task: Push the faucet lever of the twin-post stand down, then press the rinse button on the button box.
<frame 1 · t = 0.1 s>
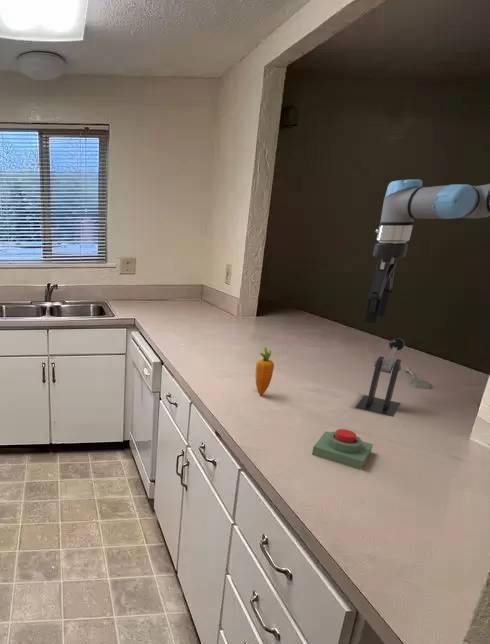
hand: (374, 319, 125), 24 cm above the countertop, tool pointing down, fingers open, 13 cm apart
twin-post stand: (376, 409, 123), on the countertop
button box: (341, 453, 100), on the countertop
faucet lever: (392, 354, 121), point 15 cm above the countertop, hinge at 25.0°
rinse button: (345, 436, 99), point 4 cm above the countertop, slide at 0.1 cm
carrot: (260, 395, 134), on the countertop
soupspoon: (413, 382, 143), on the countertop
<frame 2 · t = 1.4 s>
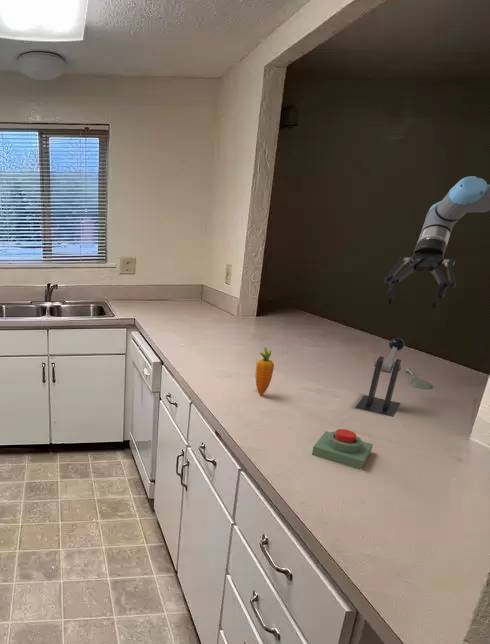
hand: (411, 303, 129), 27 cm above the countertop, tool tilted 45°, fingers open, 10 cm apart
nothing on the countertop moved.
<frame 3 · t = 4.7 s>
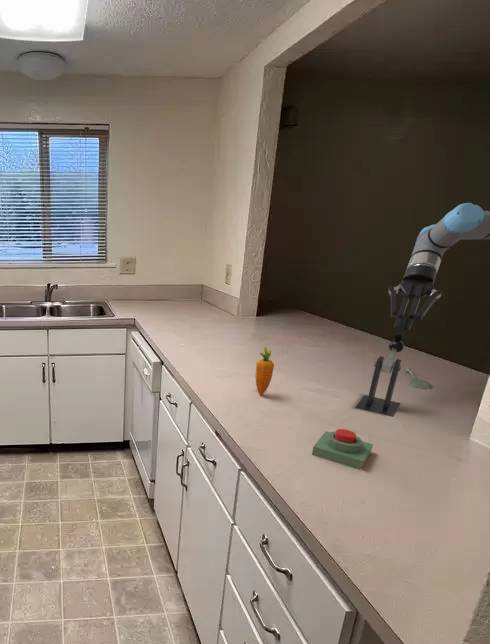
hand: (398, 337, 123), 19 cm above the countertop, tool tilted 45°, fingers closed
faucet lever: (392, 355, 121), point 15 cm above the countertop, hinge at 21.0°, touching gripper
everything else where it was.
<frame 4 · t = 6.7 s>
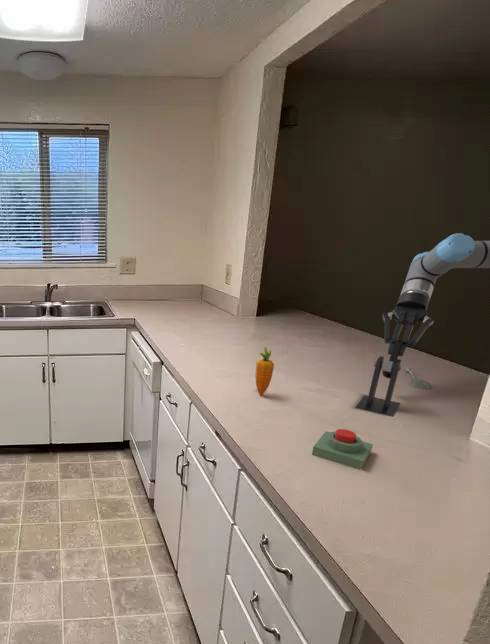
hand: (391, 363, 126), 11 cm above the countertop, tool tilted 45°, fingers closed
faucet lever: (388, 369, 123), point 11 cm above the countertop, hinge at -25.1°
everything else where it was.
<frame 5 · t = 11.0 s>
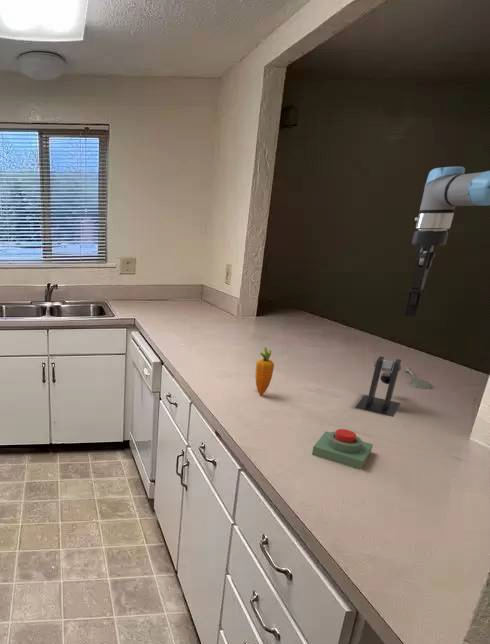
hand: (410, 315, 126), 24 cm above the countertop, tool pointing down, fingers closed
faucet lever: (387, 372, 123), point 10 cm above the countertop, hinge at -35.2°
everything else where it was.
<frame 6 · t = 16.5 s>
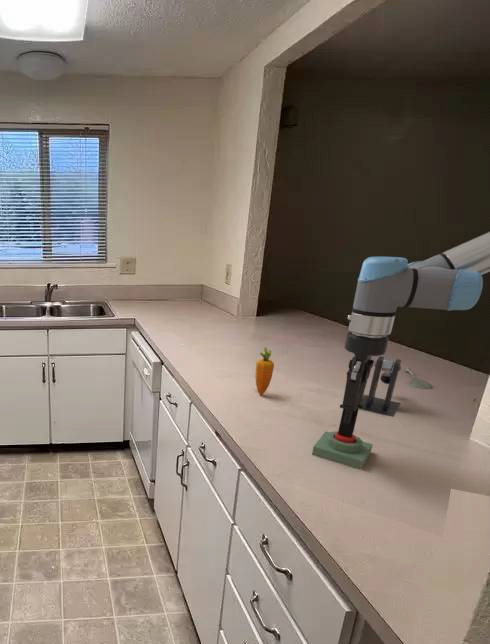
hand: (345, 434, 99), 5 cm above the countertop, tool pointing down, fingers closed
rinse button: (344, 438, 99), point 4 cm above the countertop, slide at -0.5 cm, touching gripper
everything else where it was.
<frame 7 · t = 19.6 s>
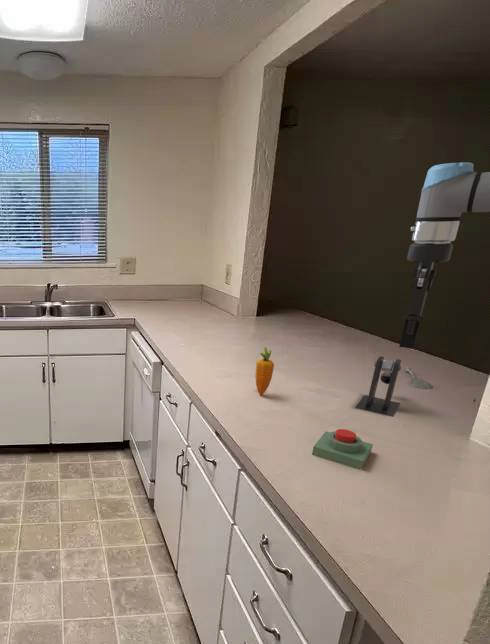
hand: (406, 347, 102), 23 cm above the countertop, tool pointing down, fingers closed
rinse button: (345, 436, 99), point 4 cm above the countertop, slide at 0.1 cm
everything else where it was.
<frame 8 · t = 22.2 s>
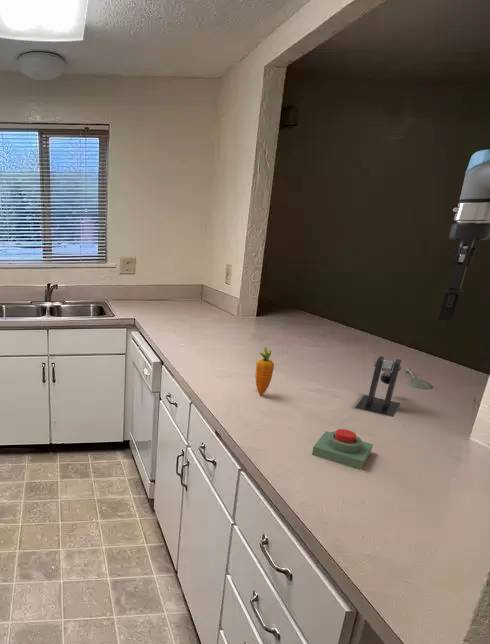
hand: (445, 319, 112), 26 cm above the countertop, tool pointing down, fingers closed
nothing on the countertop moved.
at the end: faucet lever at -35° (first picture: +25°); rinse button pushed in 1.0 cm at the most during the clip, back to where it started at the end; rinse button slide at 0.1 cm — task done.
